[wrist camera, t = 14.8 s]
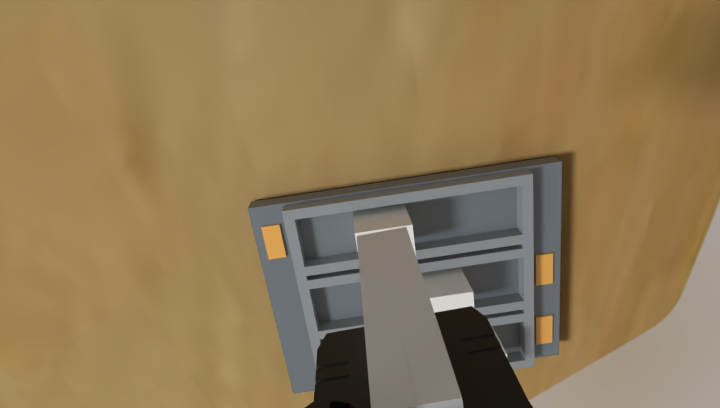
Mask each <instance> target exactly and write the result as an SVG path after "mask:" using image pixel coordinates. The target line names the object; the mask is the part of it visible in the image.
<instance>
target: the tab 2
mask: <svg viewBox="0 0 720 408" xmlns="http://www.w3.org/2000/svg"><path fill="white" fill-rule="evenodd" d="M422 276H423V279H424V283H425V286H426V289H427V292H428V295H429V298H430V301H431V304H432V307H433V310H434V313H435V312H441V311H447V310H452V309H458V308H463V307H469V306H472V307H474V294H473V290H472V288H471V286H470V284H469V283H468V281H467V279H466V277H465V275H464V273H463V271H462V269H461V267H457V268H450V269H444V270H437V271H430V272H423V273H422Z"/></svg>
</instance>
